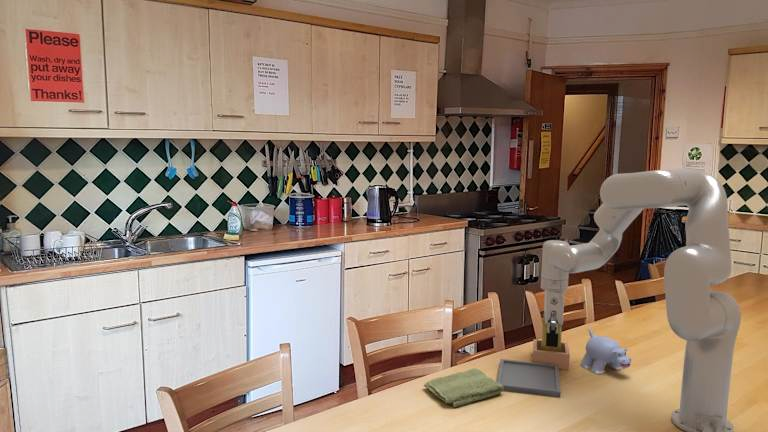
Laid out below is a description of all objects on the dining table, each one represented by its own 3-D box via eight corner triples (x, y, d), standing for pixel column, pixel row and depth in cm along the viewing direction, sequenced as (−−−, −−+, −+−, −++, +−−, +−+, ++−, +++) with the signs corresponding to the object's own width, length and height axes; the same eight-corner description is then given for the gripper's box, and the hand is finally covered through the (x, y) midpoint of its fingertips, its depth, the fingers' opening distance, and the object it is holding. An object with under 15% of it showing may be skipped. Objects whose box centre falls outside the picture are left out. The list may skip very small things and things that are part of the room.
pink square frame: (568, 369, 166) (569, 354, 166) (532, 365, 169) (533, 350, 168) (567, 356, 176) (567, 342, 175) (532, 353, 178) (533, 339, 178)
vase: (561, 366, 169) (564, 318, 167) (539, 364, 170) (542, 316, 168) (560, 358, 175) (562, 311, 173) (538, 356, 176) (541, 310, 174)
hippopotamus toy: (612, 382, 158) (614, 348, 157) (572, 362, 172) (574, 331, 170) (641, 375, 163) (643, 343, 162) (600, 356, 176) (602, 326, 175)
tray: (560, 397, 149) (560, 391, 149) (496, 389, 153) (496, 384, 153) (557, 369, 166) (558, 364, 166) (500, 363, 170) (500, 358, 170)
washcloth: (421, 389, 153) (421, 377, 152) (477, 376, 161) (477, 365, 160) (448, 410, 141) (449, 398, 141) (507, 395, 149) (508, 383, 149)
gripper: (569, 292, 160) (566, 352, 162) (566, 277, 176) (563, 332, 179) (541, 290, 162) (538, 349, 164) (540, 275, 178) (537, 329, 181)
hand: (551, 340), depth 171 cm, fingers open, 9 cm apart
